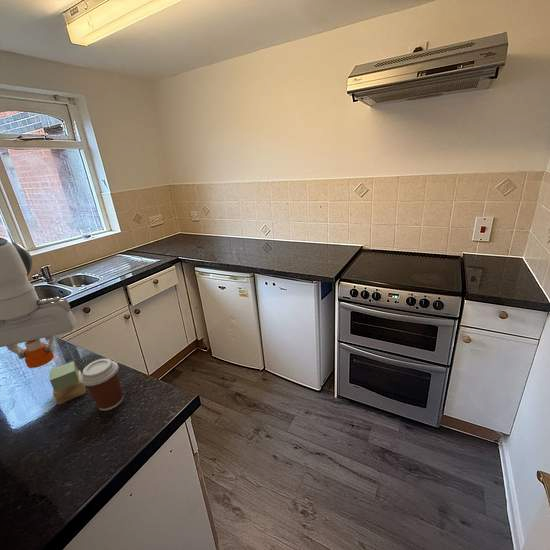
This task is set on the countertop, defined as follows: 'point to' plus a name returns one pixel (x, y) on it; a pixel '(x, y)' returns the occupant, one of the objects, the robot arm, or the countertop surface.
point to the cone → (36, 354)
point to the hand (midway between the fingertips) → (37, 354)
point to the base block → (70, 391)
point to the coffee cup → (103, 383)
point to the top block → (64, 376)
